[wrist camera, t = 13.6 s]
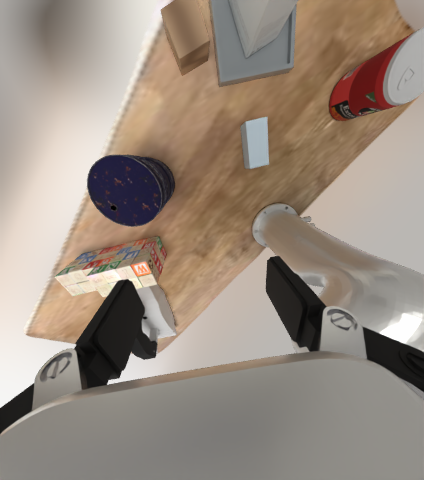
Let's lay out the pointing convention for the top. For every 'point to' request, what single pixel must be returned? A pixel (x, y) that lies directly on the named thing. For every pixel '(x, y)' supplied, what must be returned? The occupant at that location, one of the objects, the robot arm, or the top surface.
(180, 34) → the walnut block
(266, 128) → the blue-grey painted block
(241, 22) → the skincare box
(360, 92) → the canned food
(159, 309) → the iron
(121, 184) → the storage jar
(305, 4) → the top surface
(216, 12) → the slate tray
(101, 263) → the stack of blocks
